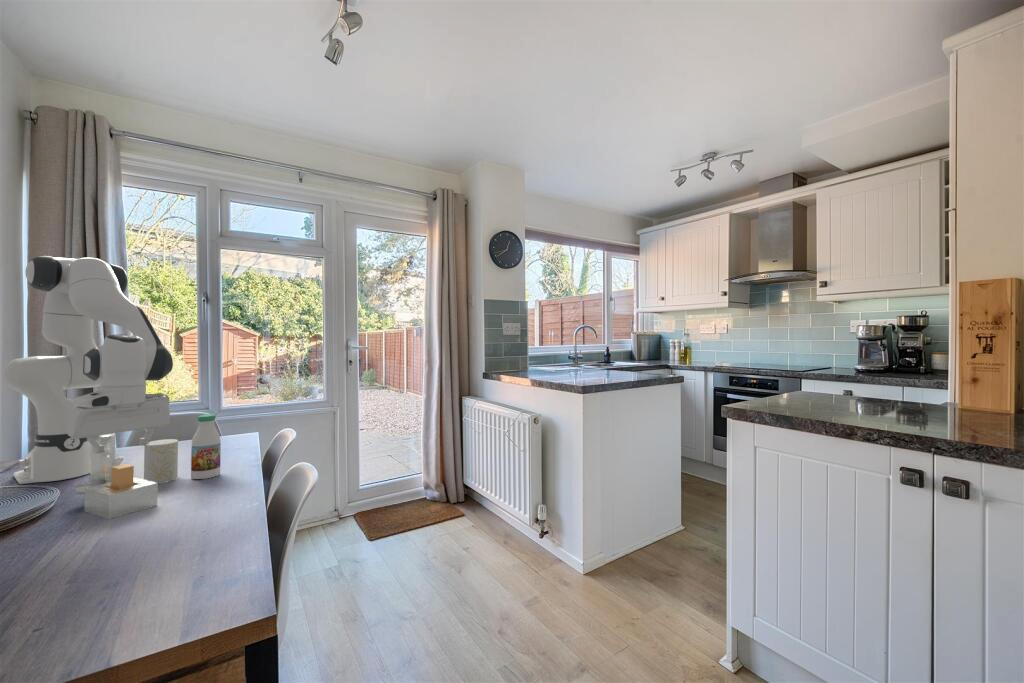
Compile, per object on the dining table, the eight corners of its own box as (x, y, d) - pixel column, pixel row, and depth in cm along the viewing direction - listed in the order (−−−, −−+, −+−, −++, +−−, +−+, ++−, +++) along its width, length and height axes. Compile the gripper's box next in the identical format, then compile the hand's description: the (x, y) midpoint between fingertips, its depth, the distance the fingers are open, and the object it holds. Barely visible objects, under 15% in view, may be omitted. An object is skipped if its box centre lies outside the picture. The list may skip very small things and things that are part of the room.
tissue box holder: (67, 505, 109) (69, 437, 110) (115, 493, 119) (116, 430, 119) (108, 519, 101) (110, 446, 101) (157, 505, 110) (158, 438, 110)
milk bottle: (185, 477, 133) (186, 416, 133) (212, 471, 139) (213, 412, 140) (198, 481, 129) (199, 418, 129) (225, 475, 136) (226, 414, 136)
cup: (147, 486, 125) (148, 446, 125) (140, 480, 130) (141, 442, 130) (180, 479, 131) (181, 441, 131) (173, 474, 136) (173, 438, 136)
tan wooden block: (110, 509, 107) (111, 466, 108) (124, 504, 110) (125, 463, 110) (118, 511, 106) (119, 468, 106) (132, 507, 109) (133, 465, 109)
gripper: (163, 391, 119) (161, 438, 119) (64, 399, 100) (62, 456, 100) (175, 393, 117) (174, 441, 117) (77, 402, 98) (75, 459, 98)
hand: (122, 448), depth 108 cm, fingers open, 8 cm apart
